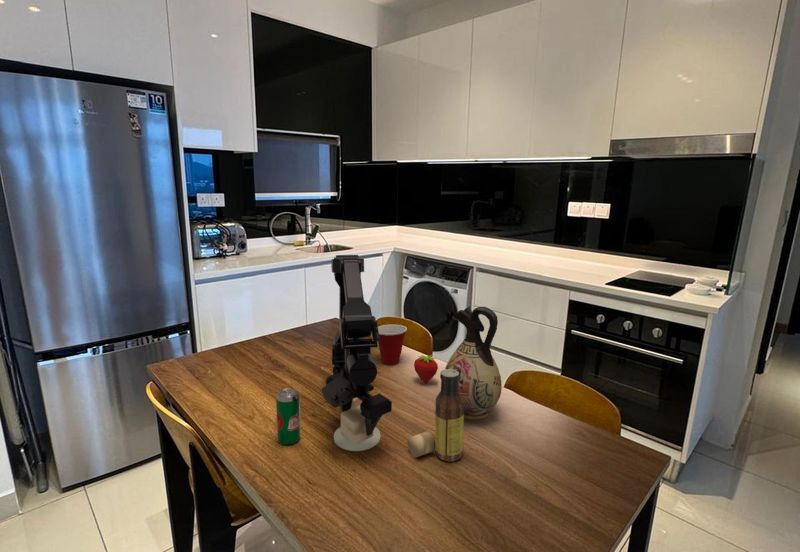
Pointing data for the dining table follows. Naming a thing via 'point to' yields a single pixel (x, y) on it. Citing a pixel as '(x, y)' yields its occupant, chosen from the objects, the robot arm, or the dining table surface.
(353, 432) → the maple block
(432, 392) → the dining table surface
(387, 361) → the plastic cup
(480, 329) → the ceramic jug
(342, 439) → the coaster
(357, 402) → the terracotta block
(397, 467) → the dining table surface
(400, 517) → the dining table surface
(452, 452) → the sauce bottle
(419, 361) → the strawberry
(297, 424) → the soda can
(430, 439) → the beech cylinder
